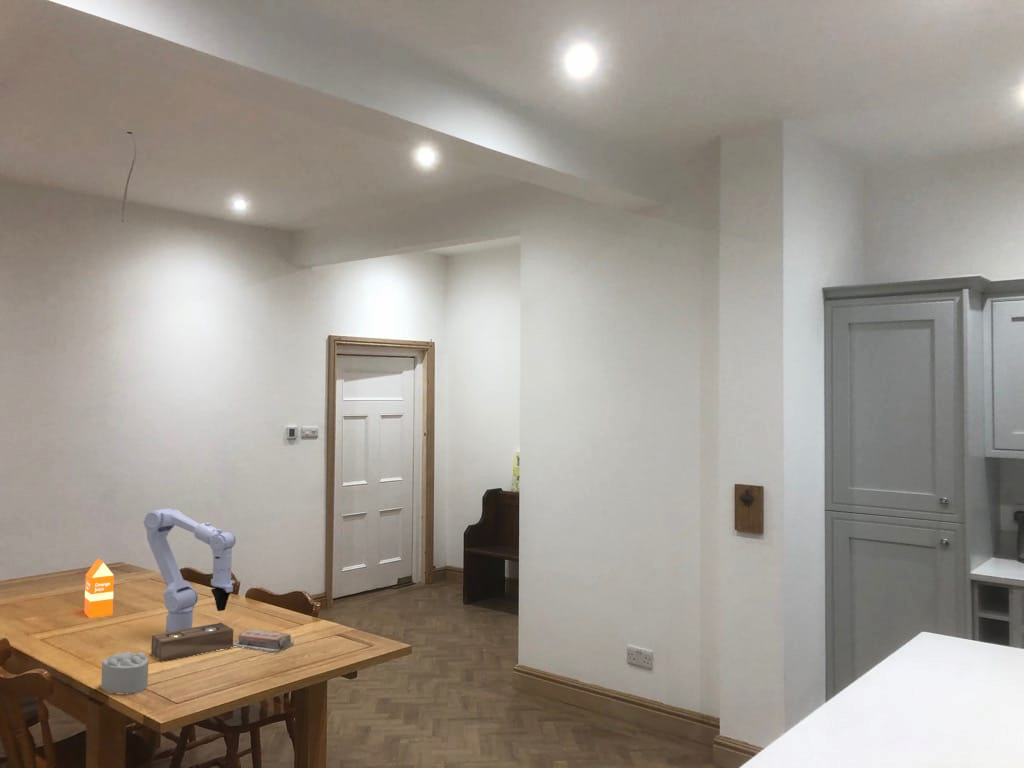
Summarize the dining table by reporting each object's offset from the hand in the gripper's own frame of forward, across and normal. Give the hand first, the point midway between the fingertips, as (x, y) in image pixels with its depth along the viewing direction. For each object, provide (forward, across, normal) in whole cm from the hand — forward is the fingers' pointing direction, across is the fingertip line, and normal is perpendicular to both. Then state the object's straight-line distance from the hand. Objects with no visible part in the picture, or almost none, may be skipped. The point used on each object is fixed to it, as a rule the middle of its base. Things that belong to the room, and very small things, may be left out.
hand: (221, 610), depth 255 cm
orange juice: (+10, +62, +23) cm, 67 cm away
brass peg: (+10, -4, +16) cm, 19 cm away
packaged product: (+11, -12, -10) cm, 19 cm away
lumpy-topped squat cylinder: (+11, -25, +35) cm, 44 cm away
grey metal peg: (+10, -4, +5) cm, 12 cm away
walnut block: (+10, -4, +10) cm, 15 cm away
